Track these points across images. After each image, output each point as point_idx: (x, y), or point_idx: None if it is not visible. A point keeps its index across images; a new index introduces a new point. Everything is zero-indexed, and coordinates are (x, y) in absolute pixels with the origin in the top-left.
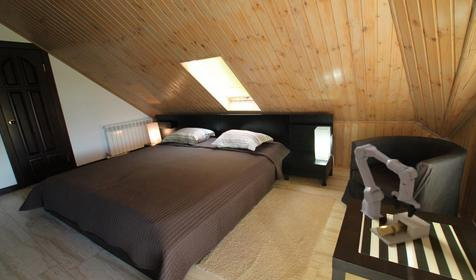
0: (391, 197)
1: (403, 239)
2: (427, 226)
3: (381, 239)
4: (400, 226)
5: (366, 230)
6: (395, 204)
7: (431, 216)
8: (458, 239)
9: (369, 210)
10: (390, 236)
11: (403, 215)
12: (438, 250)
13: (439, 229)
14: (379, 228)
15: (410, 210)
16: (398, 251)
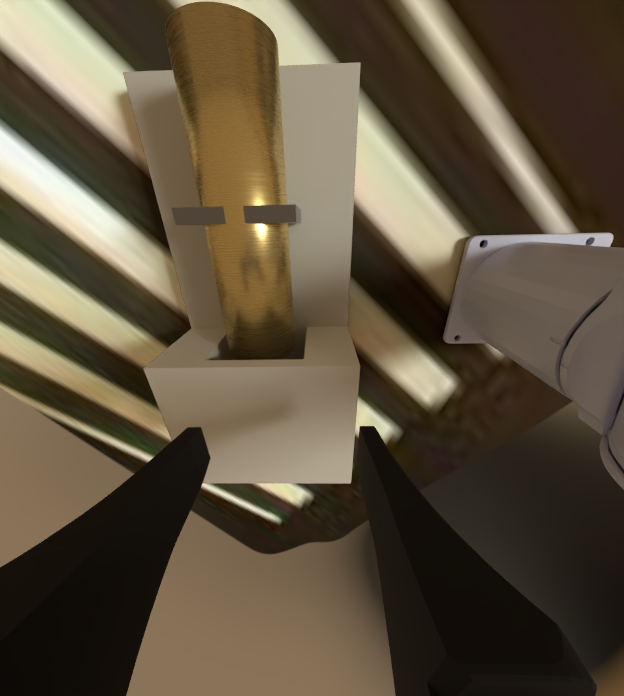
0: (574, 678)
1: (179, 262)
2: None
3: None
4: (226, 310)
5: (373, 34)
6: (385, 492)
7: (341, 514)
8: None
9: (560, 249)
10: None
11: (322, 427)
12: (121, 376)
13: None
14: (222, 14)
15: (8, 564)
16: (80, 127)
